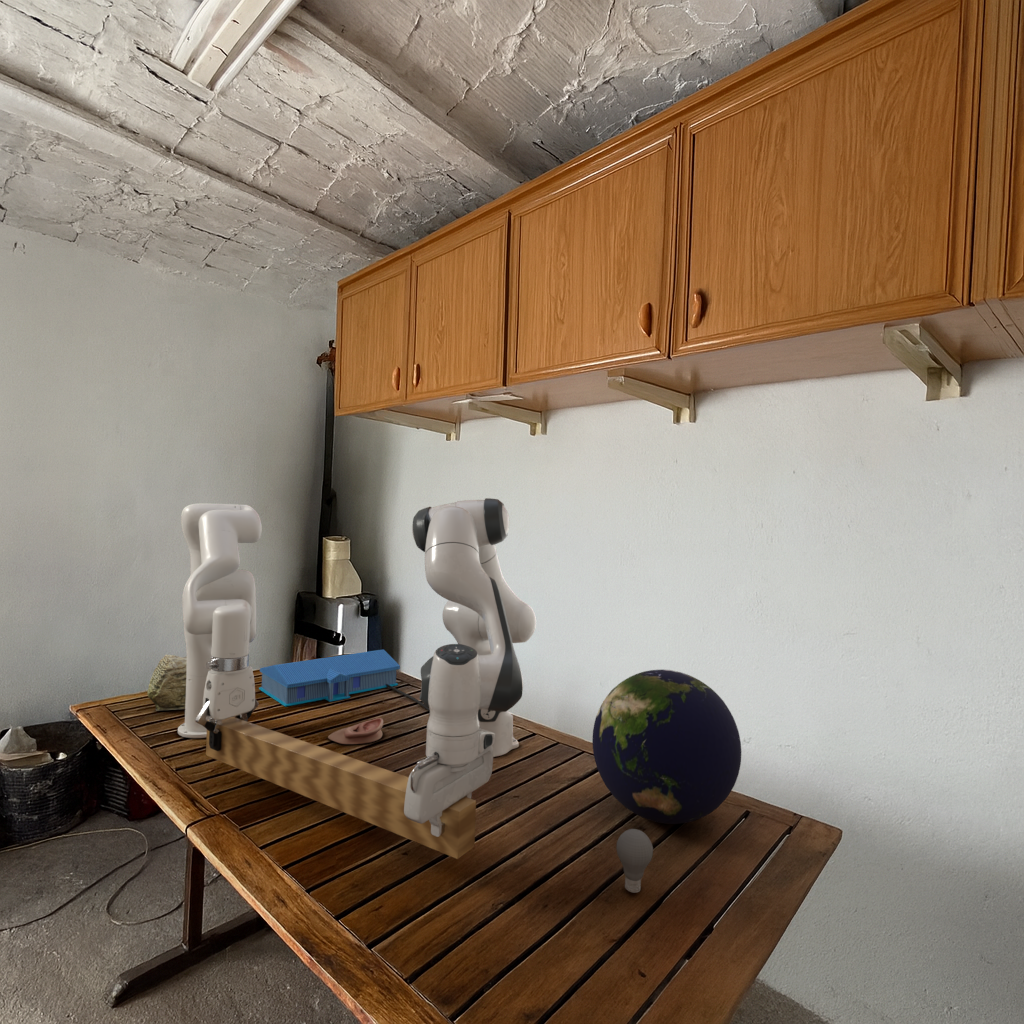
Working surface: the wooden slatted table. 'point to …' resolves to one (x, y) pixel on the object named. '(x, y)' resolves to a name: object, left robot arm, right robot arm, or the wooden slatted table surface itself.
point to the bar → (340, 783)
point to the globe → (666, 746)
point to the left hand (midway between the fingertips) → (227, 744)
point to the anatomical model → (359, 733)
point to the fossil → (169, 683)
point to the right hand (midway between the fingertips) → (449, 826)
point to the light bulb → (634, 857)
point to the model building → (329, 677)
